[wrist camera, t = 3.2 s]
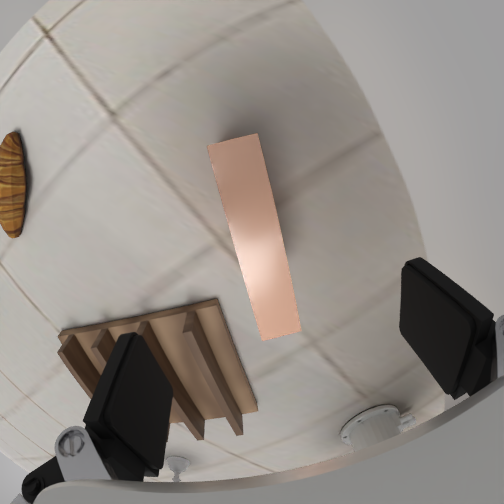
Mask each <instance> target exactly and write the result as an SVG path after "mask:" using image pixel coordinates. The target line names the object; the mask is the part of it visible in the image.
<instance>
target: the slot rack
mask: <svg viewBox="0 0 504 504" xmlns="http://www.w3.org/2000/svg"><path fill="white" fill-rule="evenodd" d="M130 332H136V333H137V334H138V335H142V336H143V338H144V340H145V341H146V343H147V345H148V347H149V348H150V350H151V352H152V354H153V356H154V357H155V359H156V361H157V362H158V364H159V366H160V367H161V369H162V371H163V372H164V374H165V376H166V377H167V379H168V380H169V382H170V384H171V385H172V388H173V399H172V406H171V412H170V419H169V426H168V433H167V440H166V442H168V435H169V428H170V423H178V422H184V423H185V425H186V426H187V427H188V429H189V430H190V431H191V433H192V434H193V435H194V437H195V438H196V439H197V440H204V425H205V420H207V419H214V418H222V417H226V419H227V420H228V422H229V424H230V426H231V427H232V429H233V431H234V432H235V434H236V436H238V435H243V422H242V414H246V413H251V412H257V411H258V407H257V402H256V400H255V397H254V395H253V392H252V390H251V388H250V385H249V382H248V380H247V377H246V375H245V372H244V370H243V367H242V365H241V362H240V359H239V357H238V354H237V352H236V349H235V346H234V344H233V341H232V338H231V336H230V333H229V330H228V327H227V325H226V322H225V319H224V316H223V314H222V311H221V308H220V305H219V302H218V299H213V300H209V301H205V302H201V303H196V304H192V305H187V306H183V307H179V308H174V309H170V310H165V311H160V312H156V313H151V314H146V315H141V316H137V317H132V318H127V319H122V320H117V321H112V322H107V323H102V324H96V325H91V326H86V327H80V328H75V329H69V330H63V331H61V333H60V334H59V335H58V338H59V340H60V341H61V343H62V346H61V347H60V349H59V350H58V352H57V353H58V355H59V356H60V358H61V359H62V361H63V362H64V364H65V365H66V367H67V368H68V369H69V371H70V372H71V374H72V375H73V376H74V378H75V379H76V380H77V382H78V383H79V384H80V386H81V387H82V388H83V390H84V391H85V392H86V394H87V395H88V396H89V397H90V399H92V396H93V394H94V391H95V389H96V386H97V384H98V382H99V379H100V377H101V375H102V372H103V370H104V368H105V366H106V363H107V361H108V359H109V357H110V354H111V352H112V350H113V348H114V346H115V344H116V341H117V339H118V337H119V336H120V335H121V334H125V333H130Z"/></svg>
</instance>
